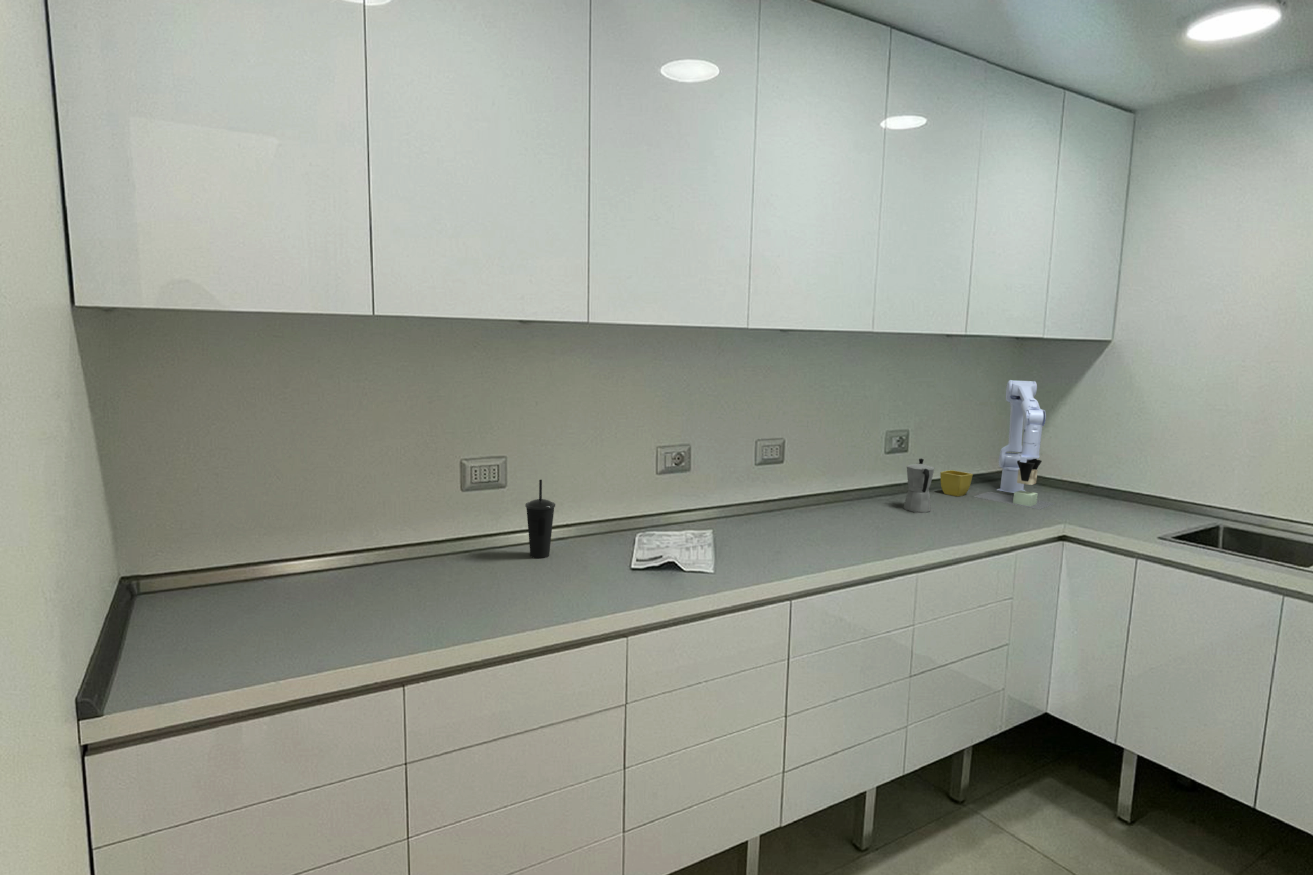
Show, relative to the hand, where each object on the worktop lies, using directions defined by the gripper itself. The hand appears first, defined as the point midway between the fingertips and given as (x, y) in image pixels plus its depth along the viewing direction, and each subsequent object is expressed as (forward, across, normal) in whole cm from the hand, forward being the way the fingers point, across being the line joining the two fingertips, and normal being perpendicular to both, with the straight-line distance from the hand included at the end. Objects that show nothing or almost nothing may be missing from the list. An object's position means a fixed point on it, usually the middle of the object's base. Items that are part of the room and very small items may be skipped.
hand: (1027, 479), depth 262 cm
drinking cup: (+10, +170, -64) cm, 182 cm away
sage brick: (+9, 0, 0) cm, 9 cm away
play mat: (+9, -3, -5) cm, 11 cm away
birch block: (+1, 0, 0) cm, 1 cm away
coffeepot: (+10, +40, -22) cm, 47 cm away
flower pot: (+10, +6, -23) cm, 26 cm away
